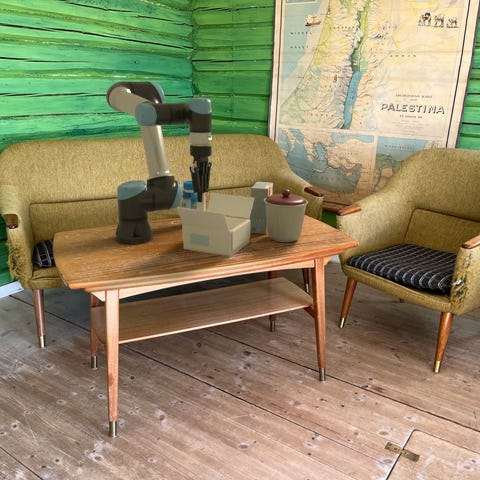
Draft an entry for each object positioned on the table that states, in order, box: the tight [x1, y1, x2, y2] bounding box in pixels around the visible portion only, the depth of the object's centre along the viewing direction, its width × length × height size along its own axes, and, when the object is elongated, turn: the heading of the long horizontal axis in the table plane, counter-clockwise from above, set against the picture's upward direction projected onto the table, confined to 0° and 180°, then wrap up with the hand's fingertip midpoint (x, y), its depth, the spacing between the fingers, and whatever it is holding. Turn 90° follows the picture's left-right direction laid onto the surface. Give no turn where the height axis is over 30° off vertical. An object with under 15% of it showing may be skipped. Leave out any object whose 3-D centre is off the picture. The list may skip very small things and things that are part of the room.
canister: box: [264, 188, 309, 243], centre depth 200 cm, size 18×18×21 cm
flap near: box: [176, 206, 229, 231], centre depth 178 cm, size 19×9×1 cm
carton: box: [181, 215, 251, 258], centre depth 191 cm, size 22×18×10 cm
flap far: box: [206, 192, 254, 219], centre depth 199 cm, size 19×9×1 cm
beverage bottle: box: [181, 180, 197, 209], centre depth 216 cm, size 8×8×20 cm
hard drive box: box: [249, 181, 274, 235], centre depth 213 cm, size 16×8×20 cm, turn 168°
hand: (201, 210), depth 176 cm, fingers closed
